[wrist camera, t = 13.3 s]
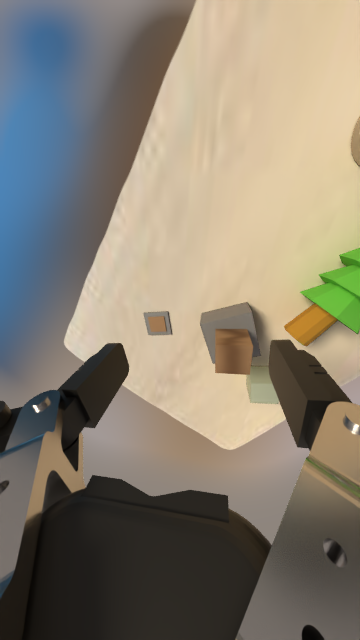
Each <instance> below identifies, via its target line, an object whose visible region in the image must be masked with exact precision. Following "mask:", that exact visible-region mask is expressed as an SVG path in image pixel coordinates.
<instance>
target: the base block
mask: <svg viewBox="0 0 360 640" xmlns="http://www.w3.org/2000/svg"><path fill="white" fill-rule="evenodd" d="M200 326H201V329H202V332H203V335H204V338H205V341H206V344H207V347H208V350H209V353H210V356H211V359H212V363H213V364H214V363H215V329H247V330H248V333H249V336H250V339H251V341H252V344H253V352H252V357H257V356H261V354H260V349H259V344H258V339H257V334H256V329H255V325H254V320H253V315H252V311H251V309H250V307H249V305H248V303H247V302H245V303H241V304H237V305H233V306H229V307H225V308H221V309H217V310H213V311H209V312H205V313H202V314H201V321H200Z"/></svg>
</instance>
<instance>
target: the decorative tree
mask: <svg viewBox="0 0 360 640" xmlns="http://www.w3.org/2000/svg"><path fill="white" fill-rule="evenodd" d="M339 256H340V258H341V261H342V263H343V264H344V265H346V266H347V267H344V268H340V269H337V270H333V271H330V272H326V273H323V274H319V276H320V277H321V279H322V280H323V281H324V282H325V283H327V284H324V285H320V286H317V287H314V288H311V289H308V290H305V291H302V292H300V293H302V294H303V295H304V296H305V297H307V298H308V299H310V300H311V301H312V302H314V304H313V305H312V306H310V307H309V308H308V309H306V310H305V311H304V312H302V313H301V314H300V315H298V316H297V317H296V318H294V319H293V320H292V321H290V322H289V323H288V324H286V325H285V326H284V327H285V330H286V331H287V332H288V333H289V334H290V335H292V336H293V337H294V338H295V339H296V340H297V341H298V342H300V343H301V344H302V345H304V346H308V345H309V344H310V343H311V342H312V341H314V340H315V339H316V338H317V337H318V336H319V335H321V334H322V333H323V332H324V331H325V330H327V329H328V328H329V327H330V326H331V325H333V324H334V323H335V322H336V321H337V320H338V321H340V322H341V323H343V324H344V325H345V326H347V327H348V328H350V329H351V330H353V331H354V332H355V333H357V334H358V333H359V330H360V248H358V249H355V250H352V251H350V252H347V253H344V254H341V255H339Z"/></svg>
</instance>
